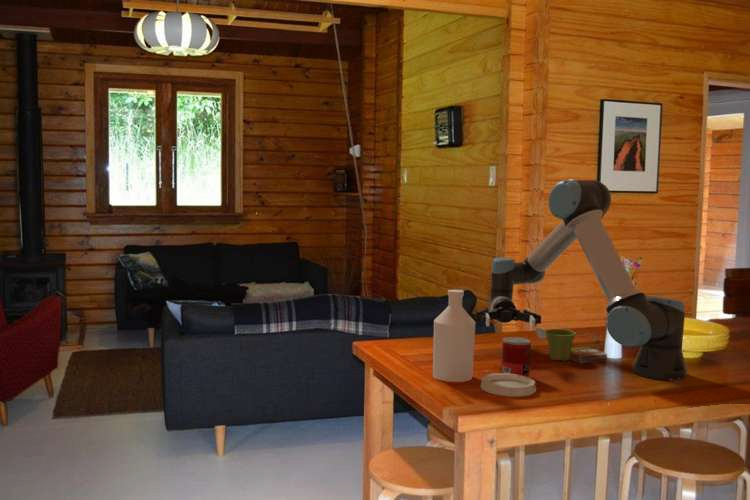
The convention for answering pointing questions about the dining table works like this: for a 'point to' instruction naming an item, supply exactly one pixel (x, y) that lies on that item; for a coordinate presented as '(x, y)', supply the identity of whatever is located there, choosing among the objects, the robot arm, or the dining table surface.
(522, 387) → the dish
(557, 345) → the plant pot
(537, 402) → the dining table surface
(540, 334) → the eyeglasses
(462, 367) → the bottle
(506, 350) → the canned food
